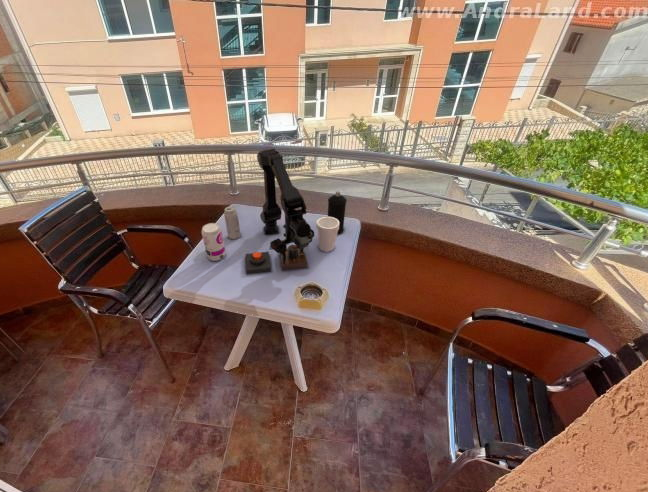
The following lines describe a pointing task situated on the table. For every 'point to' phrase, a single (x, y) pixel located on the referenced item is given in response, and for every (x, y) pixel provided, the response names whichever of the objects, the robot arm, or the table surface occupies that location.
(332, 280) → the table surface
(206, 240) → the supplement can
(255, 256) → the power button
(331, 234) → the foam cup
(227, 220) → the energy drink can
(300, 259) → the dial panel
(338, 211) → the aerosol can
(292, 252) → the dial
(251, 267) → the push button box
